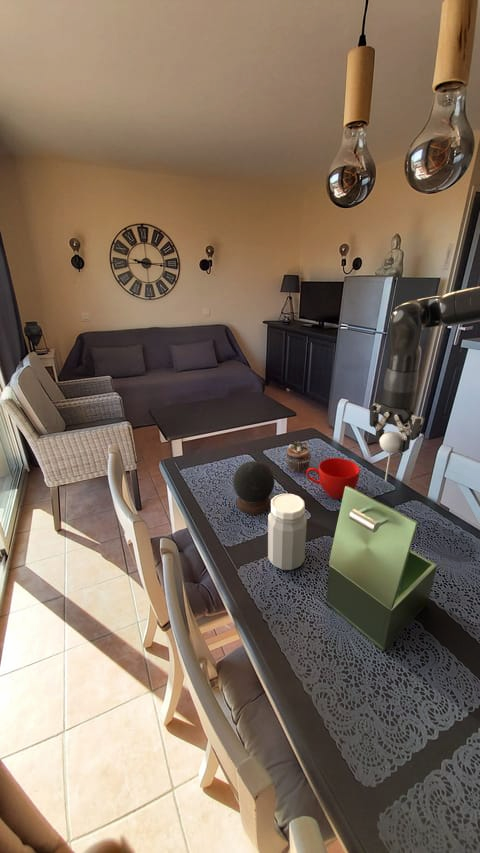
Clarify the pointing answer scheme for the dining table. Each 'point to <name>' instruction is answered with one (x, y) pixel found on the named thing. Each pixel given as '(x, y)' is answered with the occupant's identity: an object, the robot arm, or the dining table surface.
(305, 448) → the cupcake
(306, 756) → the dining table surface
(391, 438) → the lollipop
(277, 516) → the jar
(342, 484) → the ceramic cup
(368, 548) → the green lid with handle
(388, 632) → the bin
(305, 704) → the dining table surface
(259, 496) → the dark sphere on stand
